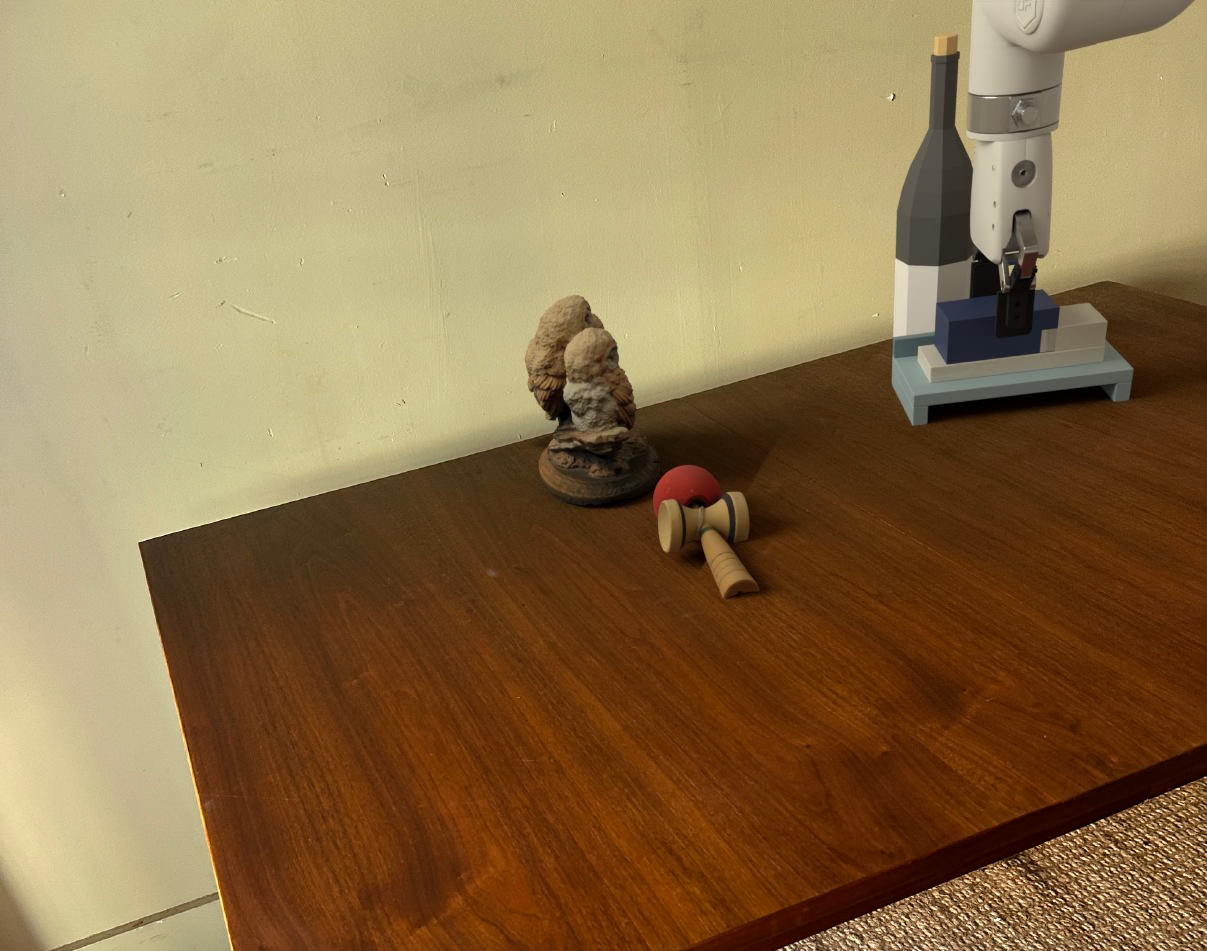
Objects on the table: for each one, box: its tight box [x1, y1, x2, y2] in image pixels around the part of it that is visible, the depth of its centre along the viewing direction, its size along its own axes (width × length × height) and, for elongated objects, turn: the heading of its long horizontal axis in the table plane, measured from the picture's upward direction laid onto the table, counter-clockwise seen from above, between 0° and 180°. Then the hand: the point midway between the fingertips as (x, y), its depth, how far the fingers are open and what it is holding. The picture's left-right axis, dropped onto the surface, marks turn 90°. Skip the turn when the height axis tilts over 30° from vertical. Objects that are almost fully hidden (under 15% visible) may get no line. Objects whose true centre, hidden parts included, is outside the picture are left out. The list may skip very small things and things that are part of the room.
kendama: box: [652, 464, 760, 600], centre depth 99 cm, size 8×6×18 cm
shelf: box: [891, 310, 1135, 426], centre depth 116 cm, size 20×11×6 cm, turn 90°
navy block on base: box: [918, 288, 1109, 383], centre depth 113 cm, size 16×6×6 cm, turn 90°
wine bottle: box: [892, 32, 977, 338], centre depth 120 cm, size 8×8×30 cm
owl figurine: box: [524, 294, 662, 507], centre depth 112 cm, size 18×12×17 cm, turn 14°
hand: (999, 319), depth 112 cm, fingers open, 9 cm apart
